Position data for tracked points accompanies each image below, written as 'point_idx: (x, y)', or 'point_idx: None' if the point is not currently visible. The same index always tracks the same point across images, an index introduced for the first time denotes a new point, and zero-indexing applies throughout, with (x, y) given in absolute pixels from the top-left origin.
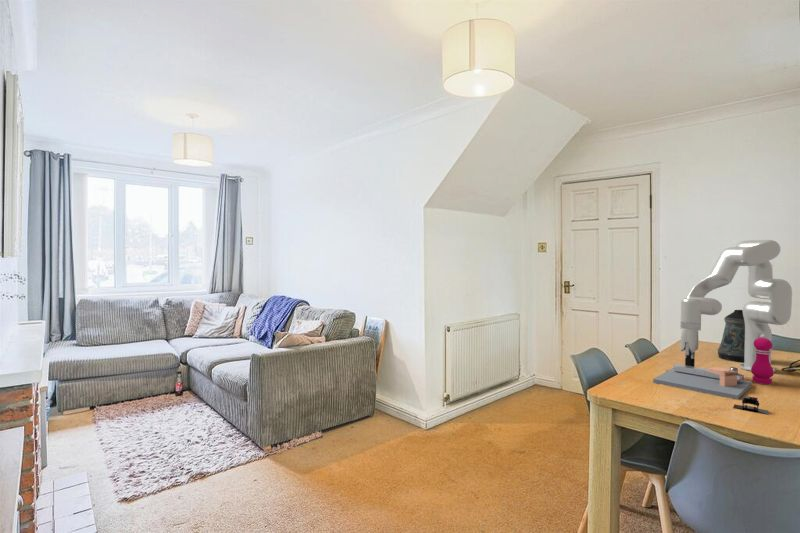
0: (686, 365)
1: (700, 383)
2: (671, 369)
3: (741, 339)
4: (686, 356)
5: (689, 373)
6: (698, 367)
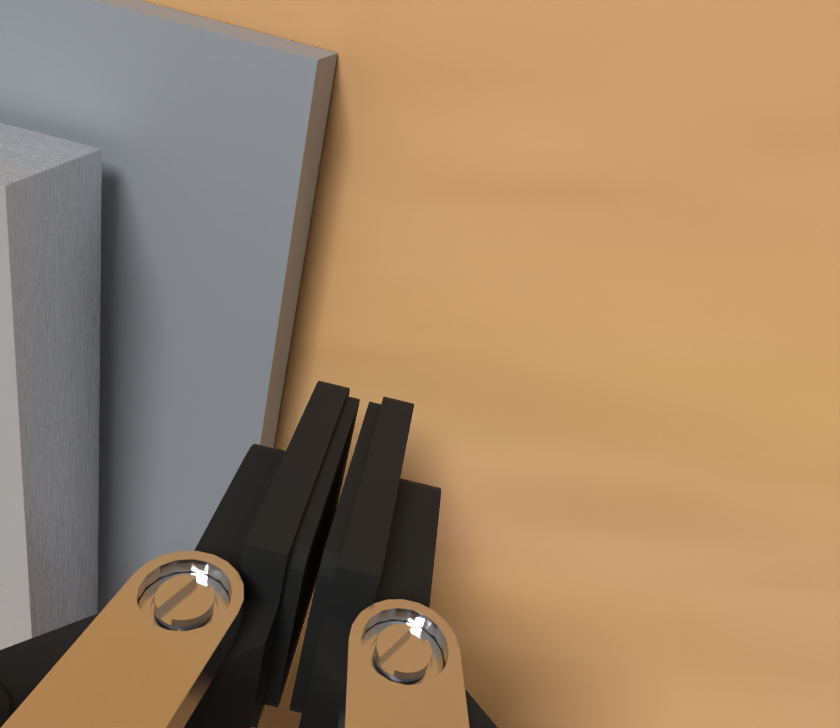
0: (2, 439)
1: None
2: (100, 24)
3: None
4: (63, 629)
5: None
6: (17, 633)
